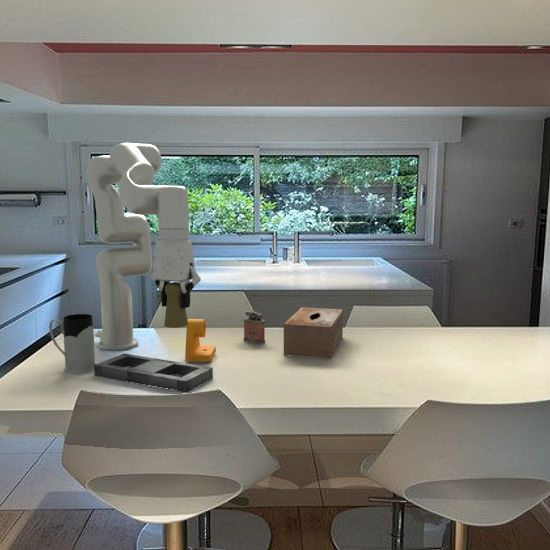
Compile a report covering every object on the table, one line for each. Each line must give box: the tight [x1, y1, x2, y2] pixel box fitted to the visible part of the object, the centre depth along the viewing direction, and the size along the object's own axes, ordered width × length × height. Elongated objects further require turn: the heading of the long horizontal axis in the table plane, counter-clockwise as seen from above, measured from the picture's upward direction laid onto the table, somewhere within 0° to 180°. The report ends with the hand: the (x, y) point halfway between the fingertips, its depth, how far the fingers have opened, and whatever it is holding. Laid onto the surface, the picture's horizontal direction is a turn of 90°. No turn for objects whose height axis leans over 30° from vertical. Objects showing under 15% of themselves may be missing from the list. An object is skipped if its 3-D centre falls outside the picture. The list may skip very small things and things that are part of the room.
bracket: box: [184, 318, 217, 363], centre depth 163 cm, size 11×7×12 cm, turn 177°
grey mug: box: [49, 313, 96, 376], centre depth 153 cm, size 9×14×15 cm, turn 70°
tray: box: [93, 353, 214, 393], centre depth 146 cm, size 30×12×3 cm, turn 64°
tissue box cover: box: [283, 307, 344, 360], centre depth 177 cm, size 26×14×10 cm, turn 165°
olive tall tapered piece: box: [164, 281, 188, 329], centre depth 140 cm, size 6×6×11 cm
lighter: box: [242, 310, 266, 344], centre depth 182 cm, size 8×3×10 cm, turn 58°
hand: (175, 305), depth 140 cm, fingers closed on olive tall tapered piece, 5 cm apart
